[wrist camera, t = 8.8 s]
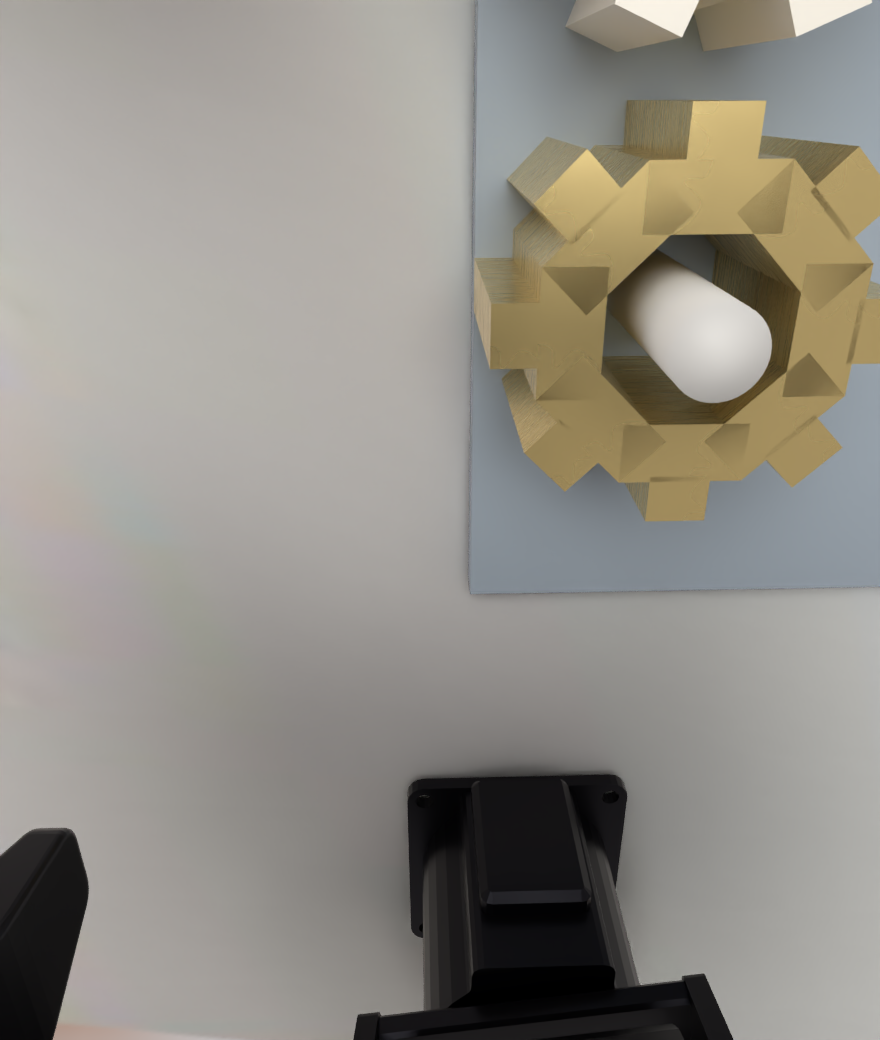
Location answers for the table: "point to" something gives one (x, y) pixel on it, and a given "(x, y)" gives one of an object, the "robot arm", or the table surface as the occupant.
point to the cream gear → (702, 20)
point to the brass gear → (737, 270)
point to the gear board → (597, 504)
